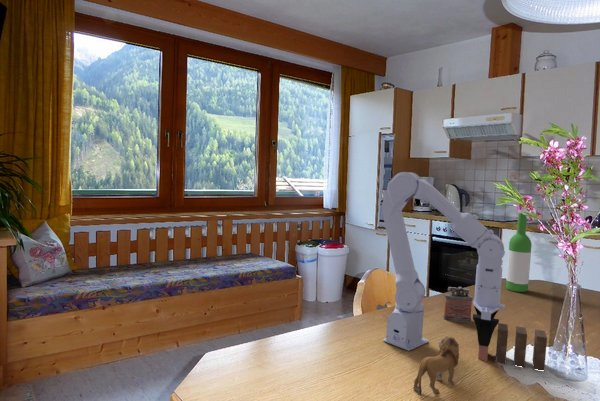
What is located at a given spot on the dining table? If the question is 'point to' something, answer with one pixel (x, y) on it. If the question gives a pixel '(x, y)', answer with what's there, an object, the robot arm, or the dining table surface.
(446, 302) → the lighter
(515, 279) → the wine bottle
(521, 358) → the walnut domino
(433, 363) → the lion figurine
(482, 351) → the brick red domino
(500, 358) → the walnut domino
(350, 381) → the dining table surface
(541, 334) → the walnut domino
